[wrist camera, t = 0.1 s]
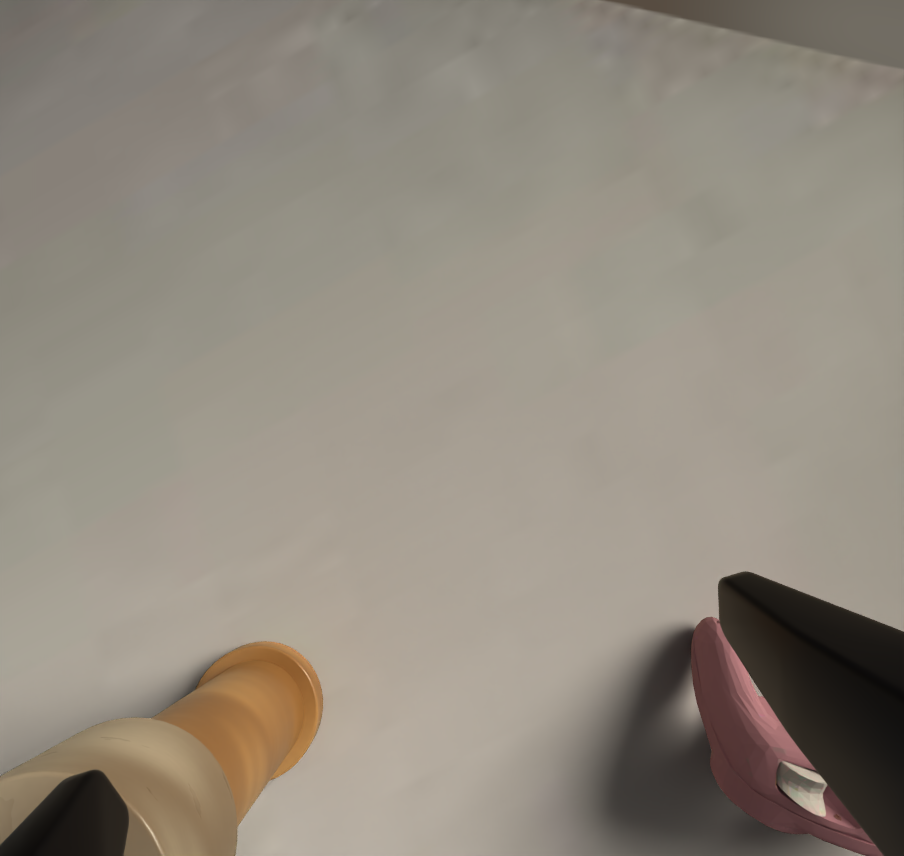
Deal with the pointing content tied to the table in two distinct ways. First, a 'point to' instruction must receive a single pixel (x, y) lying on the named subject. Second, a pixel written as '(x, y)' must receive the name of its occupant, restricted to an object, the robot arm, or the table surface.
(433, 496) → the table surface
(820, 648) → the robot arm
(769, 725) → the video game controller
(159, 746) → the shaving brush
